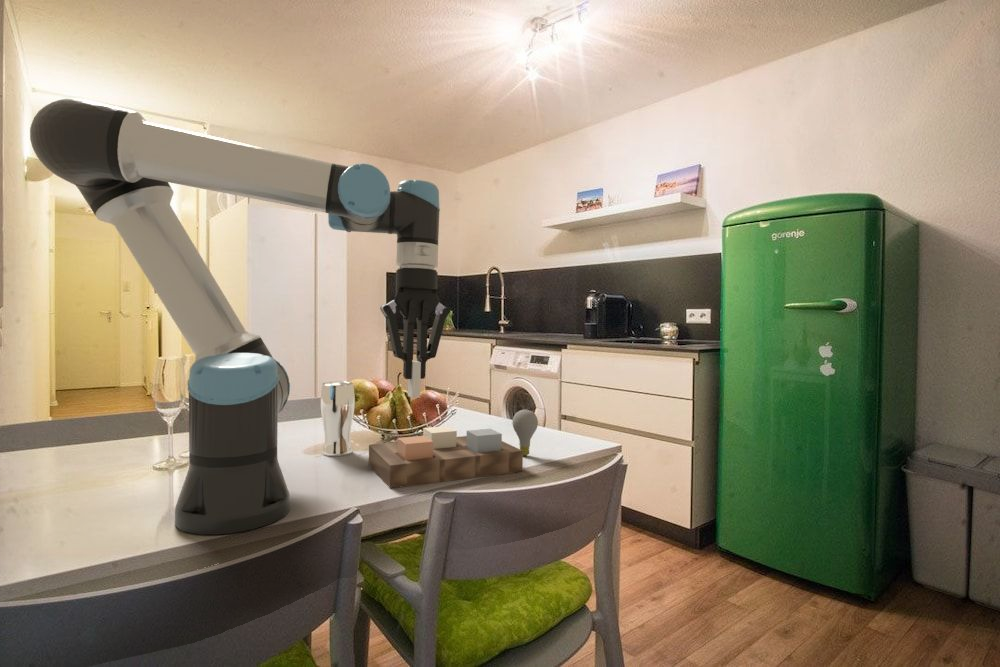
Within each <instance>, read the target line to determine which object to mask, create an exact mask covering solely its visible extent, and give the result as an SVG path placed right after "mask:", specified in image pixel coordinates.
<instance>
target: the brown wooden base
mask: <svg viewBox="0 0 1000 667" xmlns="http://www.w3.org/2000/svg"><path fill="white" fill-rule="evenodd" d="M466 440H467V435H463V436H457V444H456V447H448V448H438V449H433V458H425V459H415V460H406V461H404V460H402V459H401V458H400V457H399V456H398V455H397V442H396V441H395V442H386V443H377V444H376V443H375V444H368V466H369V468H371V469H372V470H373V471H374V473H375V474H376V475H377V476H378V477H379V478H380V479H381V480H382V481H383V482H384V483H386V484H387V485H388V486H389V487H390V488H389V487H388V486H387V485H386V484H385V485H386V486H387V487H388V488H389V489H392V488H391V487H397V488H401V487H400V486H405V487H411V485H413V486H420V485H427V484H436V483H444V482H448V481H449V482H450V481H451V482H452V481H458V480H465V479H474V478H481V477H489V476H496V475H505V474H511V473H512V474H513V473H521V472H523V467H524V466H523V462H524V461H523V459H524V456H523V451H522V450H520V448H517V447H516V446H513V445H511V444H510V443H507V442H505V441H503V440H502V449H501V450H499V451H490V452H481V453H475V452H473V451H472V450H470V449H468V448H466Z"/></svg>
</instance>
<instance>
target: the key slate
mask: <svg viewBox="0 0 1000 667" xmlns="http://www.w3.org/2000/svg"><path fill="white" fill-rule="evenodd" d="M466 436H467V440H466V448H468V449H470V450H472V451H473V452H475V453H481V452H490V451H499V450H501V449H502V441H503V438H502V436H503V434H502V433H501V432H498V431H496V430H494V429H492V428H484V429H483V428H482V429H472V430H471V429H470V430H466Z"/></svg>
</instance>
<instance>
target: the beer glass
mask: <svg viewBox="0 0 1000 667" xmlns="http://www.w3.org/2000/svg"><path fill="white" fill-rule="evenodd" d="M354 384H355V383H354V382H352V381H327V382H322V383H321V391H320V392H321V393H320V411H321V412H320V414H321V420H322V427H323V432H324V442H323V447H322V448H323V449H322V455H323V456H328V457H341V456H342V457H343V456H348V455H350V454H352V452H353V447H352V441H351V431H352V424H353V419H354V413H355V400H356V399H355V386H354Z"/></svg>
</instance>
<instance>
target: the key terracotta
mask: <svg viewBox="0 0 1000 667" xmlns="http://www.w3.org/2000/svg"><path fill="white" fill-rule="evenodd" d="M397 455H398V456H399V457H400V458H401V459H402V460H404V461H406V460H415V459H425V458H433V441H432V440H430V439H429V438H427V437H425V436H423V435H416V436H415V435H414V436H406V437H397Z"/></svg>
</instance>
